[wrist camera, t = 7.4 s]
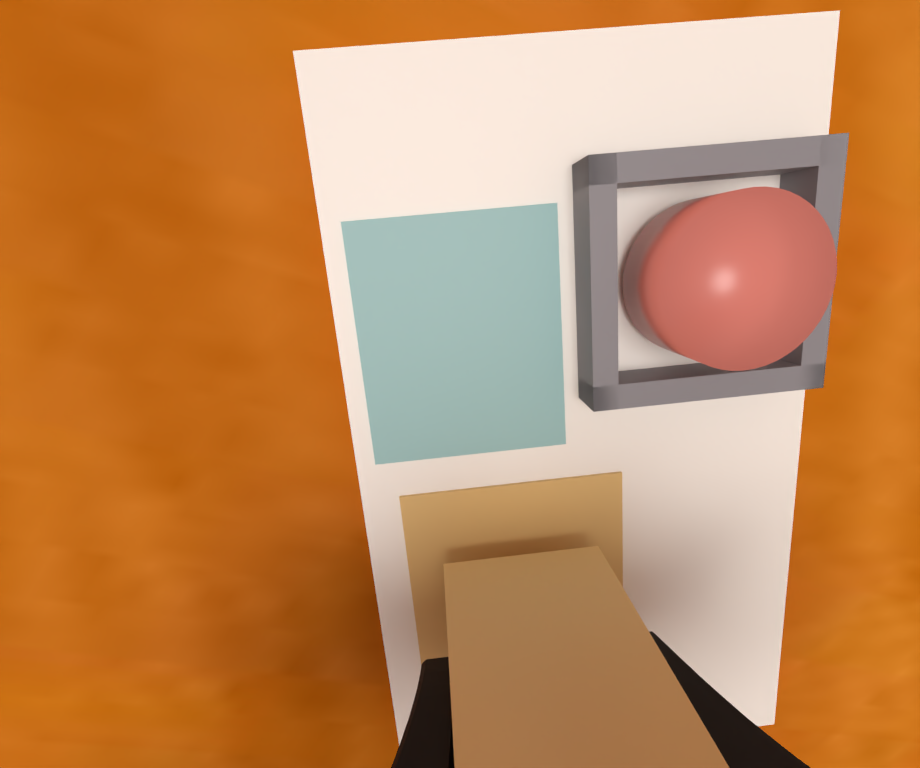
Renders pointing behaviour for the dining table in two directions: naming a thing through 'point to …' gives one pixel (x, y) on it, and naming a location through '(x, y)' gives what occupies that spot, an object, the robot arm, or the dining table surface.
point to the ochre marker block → (561, 670)
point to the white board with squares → (566, 318)
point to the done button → (732, 277)
